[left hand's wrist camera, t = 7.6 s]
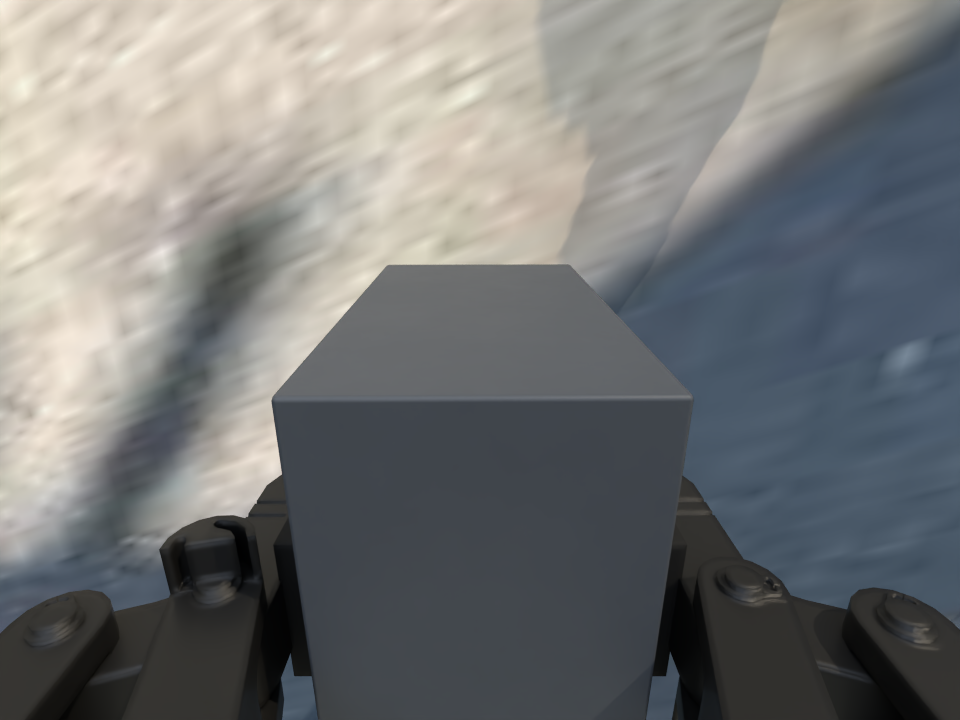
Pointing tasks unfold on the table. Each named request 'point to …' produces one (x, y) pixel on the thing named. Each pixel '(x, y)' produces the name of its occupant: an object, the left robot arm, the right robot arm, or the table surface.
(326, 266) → the table surface
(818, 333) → the table surface
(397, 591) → the post
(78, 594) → the left robot arm
